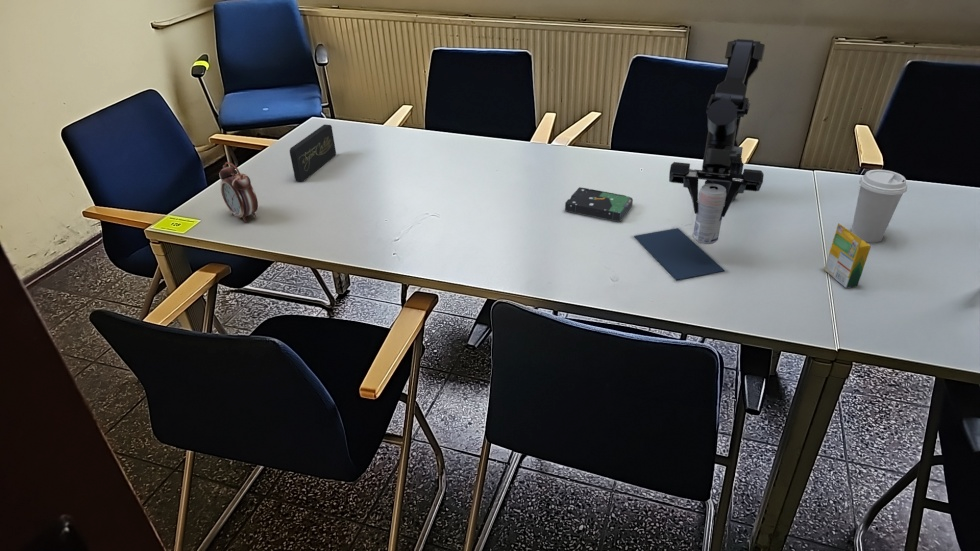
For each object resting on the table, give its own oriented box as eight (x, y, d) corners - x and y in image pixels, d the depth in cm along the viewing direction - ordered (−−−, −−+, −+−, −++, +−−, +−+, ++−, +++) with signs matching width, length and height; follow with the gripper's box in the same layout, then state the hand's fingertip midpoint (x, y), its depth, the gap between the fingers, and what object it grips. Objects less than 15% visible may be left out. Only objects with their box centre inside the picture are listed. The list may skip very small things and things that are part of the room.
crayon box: (858, 286, 136) (874, 237, 130) (845, 288, 136) (861, 239, 129) (835, 268, 142) (850, 220, 136) (823, 270, 142) (837, 222, 135)
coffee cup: (870, 250, 148) (891, 189, 140) (834, 232, 155) (851, 173, 147) (898, 239, 152) (919, 179, 143) (861, 222, 159) (880, 164, 151)
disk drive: (564, 212, 168) (620, 223, 162) (564, 202, 166) (621, 212, 160) (578, 196, 175) (632, 205, 170) (578, 186, 174) (633, 195, 168)
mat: (677, 229, 159) (677, 228, 158) (724, 271, 142) (724, 270, 142) (634, 236, 156) (634, 235, 156) (676, 280, 140) (676, 279, 140)
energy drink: (718, 234, 144) (727, 184, 138) (717, 246, 140) (726, 195, 134) (693, 231, 146) (701, 181, 139) (691, 243, 142) (699, 192, 135)
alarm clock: (225, 213, 172) (211, 160, 164) (242, 207, 175) (228, 154, 167) (247, 226, 166) (233, 171, 158) (264, 219, 169) (251, 165, 161)
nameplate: (301, 182, 187) (294, 149, 182) (295, 182, 188) (288, 149, 182) (336, 154, 204) (331, 123, 199) (331, 154, 205) (325, 123, 199)
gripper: (675, 126, 136) (664, 197, 133) (772, 134, 131) (761, 208, 128) (674, 147, 146) (663, 213, 144) (763, 155, 141) (754, 224, 139)
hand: (709, 214), depth 138 cm, fingers closed on energy drink, 5 cm apart
